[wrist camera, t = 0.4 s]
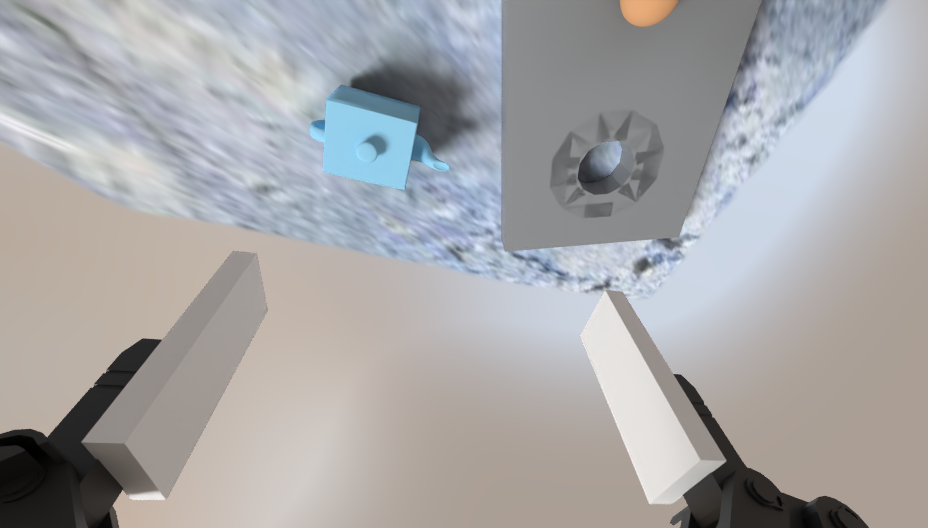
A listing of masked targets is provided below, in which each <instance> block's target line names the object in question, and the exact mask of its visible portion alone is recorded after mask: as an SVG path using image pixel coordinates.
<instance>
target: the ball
mask: <svg viewBox="0 0 928 528" xmlns="http://www.w3.org/2000/svg"><path fill="white" fill-rule="evenodd" d="M678 1H679V0H620V7H621V11H622V14H623V16H624V18H625V19H626V20H627V21H628V22H629V23H631V24H632V25H635V26H639V27H647V26H651V25H654V24H656V23H658V22H660V21H662V20H663V19H664V18H666V17H667V16H668V15H669V14H670V13H671V12H672V10H673V9H674V8H675V6H676V4H677V3H678Z"/></svg>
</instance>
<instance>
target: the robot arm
mask: <svg viewBox="0 0 928 528" xmlns="http://www.w3.org/2000/svg"><path fill="white" fill-rule="evenodd" d="M267 311H268V309H267V303H266V298H265V293H264V288H263V283H262V278H261V272H260V267H259V262H258V257H257V254H256V253H249V252H239V251H233V252H232V253H231V254H230V255H229V257H228V258H227V259H226V260H225V262H224V263H223V264H222V265H221V267H220V268H219V269H218V271H217V272H216V273H215V274H214V276H213V277H212V278H211V279H210V280H209V282H208V283H207V284H206V286H205V287H204V288H203V289H202V291H201V292H200V293H199V294H198V296H197V297H196V298H195V299H194V301H193V302H192V303H191V305H190V306H189V307H188V308H187V309H186V311H185V312H184V313H183V315H182V316H181V317H180V318H179V320H178V321H177V322H176V323H175V325H174V326H173V327H172V328H171V330H170V331H169V332H168V334H167V335H166V336H165V337H164V338H163V340H158V339H157V340H156V339H141V340H140V341H138V342H137V343H135V344H134V345H133V346H131V347H130V348H128V349H126V350H125V351H123V352H122V353H121V354H120V355H119V356H118V357H117V359H116V360H115V361H114V362H113V363H112V364H111V365H110V367H109V368H108V369H107V372H106V373H103V374H102V376H101V377H100V378H99V379H98V380H97V382H95V384H94V387H93V388H90V389H89V390H88V392H87V393H86V394H85V395H84V396H83V397H82V398H81V399H80V401H79V402H78V403H77V404H76V405H75V406H74V408H73V409H72V410H71V411H70V412H69V413H68V414H67V416H66V417H65V418H64V419H63V420H62V421H61V422H60V423H59V425H58V426H57V427H56V428H55V429H54V430H53V431H52V432H51V434H50V435H49V436H48V437H46V436H45V435H44V434H43V433H41V432H38V431H35V430H32V429H21V430H12V431H9V432H6V433H2V434H0V528H119V525H118V520H117V515H116V511H115V509H114V508H113V506H112V505H113V504H114V502H115V501H116V499H117V497H118V496H119V494H120V493H121V491H122V490H123V491H124V492H125V493H126V494H127V495H128V497H129V498H130V499H131V500H166V499H167V497H168V496H169V494H170V492H171V490H172V488H173V486H174V484H175V482H176V481H177V479H178V477H179V475H180V473H181V471H182V470H183V468H184V466H185V464H186V462H187V460H188V458H189V456H190V455H191V453H192V451H193V449H194V447H195V445H196V443H197V442H198V439H199V438H200V436H201V434H202V432H203V430H204V428H205V427H206V425H207V423H208V421H209V419H210V417H211V415H212V414H213V412H214V410H215V408H216V406H217V404H218V402H219V400H220V399H221V397H222V395H223V393H224V391H225V389H226V387H227V386H228V383H229V382H230V380H231V378H232V376H233V374H234V373H235V370H236V369H237V367H238V365H239V363H240V361H241V359H242V357H243V356H244V354H245V352H246V350H247V348H248V346H249V344H250V343H251V341H252V339H253V337H254V335H255V333H256V331H257V330H258V328H259V326H260V324H261V322H262V320H263V318H264V316H265V315H266V313H267ZM580 337H581V339H582V342H583V344H584V347H585V349H586V352H587V354H588V356H589V359H590V361H591V364H592V366H593V369H594V371H595V373H596V376H597V378H598V381H599V383H600V385H601V388H602V390H603V393H604V395H605V398H606V400H607V402H608V405H609V407H610V410H611V412H612V415H613V417H614V419H615V422H616V424H617V427H618V429H619V431H620V434H621V436H622V438H623V441H624V443H625V446H626V448H627V451H628V453H629V456H630V458H631V460H632V463H633V465H634V468H635V470H636V472H637V475H638V477H639V480H640V482H641V485H642V487H643V490H644V492H645V494H646V497H647V499H648V502H649V504H673V503H674V502H675V501H677V500H678V499H679V498H680V497H682V496H684V498H685V500H686V502H687V504H688V506H687V507H686V508H685V509H683V510H682V511H680V512H679V513H678V514H676V515H675V516H674V517H673V518H672V520H671V522H670V523H671V524H672V525H675V524H676V523H678V522H679V521H680V520H682V522H681V527H680V528H869V527H868V526H867V525H866V524H865V523H864V521H863V520H862V519H861V518H860V517H859V516H858V515H857V514H856V513H855V512H854V511H852V510H851V509H850V508H849V507H848V506H846V505H845V504H843V503H841V502H840V501H838V500H836V499H834V498H831V497H827V496H822V497H818V498H816V499H814V500H813V501H811V502H806V501H803V500H800V499H798V498H795V497H792V496H790V495H787V494H784V493H781V492H780V491H779V489H778V488H777V487H776V486H775V485H774V484H773V483H772V482H771V481H770V480H769V479H768V478H766V477H765V476H764V475H762V474H761V473H759V472H757V471H755V470H753V469H751V468H747V467H746V466H745V464H744V463H743V462H742V460H741V458H740V457H739V455H738V454H737V452H736V451H735V449H734V448H733V446H732V445H731V443H730V441H729V440H728V438H727V437H726V436H725V434H724V432H723V431H722V429H721V428H720V426H719V424H718V423H717V421H716V420H715V418H713V417H712V414H711V412H710V411H709V409H708V408H707V406H705V405H704V401H703V400H702V398H701V397H700V395H699V394H698V392H697V391H696V389H695V388H694V387H693V386H692V385H691V384H690V383H689V382H688V381H687V380H686V379H685V378H684V377H683V376H682V375H678V374H673V373H672V372H671V370H670V368H669V366H668V365H667V363H666V362H665V360H664V359H663V357H662V355H661V354H660V352H659V350H658V349H657V347H656V345H655V344H654V342H653V341H652V339H651V338H650V336H649V334H648V332H647V331H646V329H645V328H644V326H643V324H642V323H641V321H640V319H639V318H638V316H637V315H636V313H635V311H634V310H633V308H632V307H631V305H630V303H629V302H628V300H627V298H626V297H625V295H624V293H623V292H619V291H610V290H605V291H604V293H603V295H602V297H601V299H600V300H599V302H598V304H597V306H596V308H595V310H594V312H593V313H592V315H591V317H590V319H589V321H588V323H587V325H586V326H585V328H584V330H583V332H582V334H581V336H580Z"/></svg>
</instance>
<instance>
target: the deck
mask: <svg viewBox="0 0 928 528" xmlns="http://www.w3.org/2000/svg"><path fill="white" fill-rule="evenodd" d="M761 1H762V0H679V1H678V3H677V4H676V6H675V8H674V9H673V10H672V12H671V13H670V14H669V15H668V16H667V17H666V18H664V19H663V20H662V21H660V22H658V23H656V24H654V25H651V26H647V27H639V26H635V25H632V24H631V23H629V22H628V21H627V20H626V19H625V18H624V16H623V14H622V11H621V7H620V0H502V210H501V237H502V241H503V245H504V249H505V251H517V250H529V249H541V248H553V247H565V246H577V245H589V244H601V243H613V242H625V241H637V240H649V239H662V238H674V237H679V235H680V232H681V229H682V226H683V224H684V221H685V218H686V215H687V212H688V209H689V206H690V204H691V201H692V198H693V195H694V192H695V189H696V187H697V184H698V181H699V178H700V175H701V172H702V169H703V167H704V164H705V161H706V158H707V155H708V152H709V149H710V147H711V144H712V141H713V138H714V135H715V132H716V130H717V127H718V124H719V121H720V118H721V115H722V112H723V110H724V107H725V104H726V101H727V98H728V95H729V93H730V90H731V87H732V84H733V81H734V78H735V75H736V73H737V70H738V67H739V64H740V61H741V58H742V56H743V53H744V50H745V47H746V44H747V41H748V38H749V36H750V33H751V30H752V27H753V24H754V21H755V18H756V16H757V13H758V10H759V7H760V4H761ZM610 141H619V142H620V144H621V147H622V154H621V159H620V163H619V164H618V166H617V167H616V168H615V170H614V171H613V172H612V174H611V175H609V176H607V177H606V178H604V179H602V180H600V181H599V182H590V183H584V182H582V181H580V180H578V171H579V164H580V163H581V161H582V160H583V158H584V157H585V155H586V154H587V153H588V151H589V150H591V149H592V148H594V147H596V146H597V145H599V144H601V143H602V142H610Z"/></svg>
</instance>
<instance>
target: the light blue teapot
mask: <svg viewBox="0 0 928 528" xmlns="http://www.w3.org/2000/svg"><path fill="white" fill-rule="evenodd" d="M420 107H421V106H418V105H415V104H411V103H407V102H404V101H400V100H396V99H393V98H389V97H385V96H382V95H378V94H374V93H370V92H367V91H363V90H359V89H356V88H352V87H348V86H344V85H341V86H339V87H338V88H337V89H336V90H335V91H334V92H333V93H332V94H331V95H330V96H329V97H328V98H326V115H325V119H324V120H318V121H314V122H312V123H311V124H310V127H309V131H310V135H311V136H312V137H313V138H314V139H316V140H318V141H320V142H324V158H323V172H326V173H330V174H334V175H338V176H343V177H347V178H351V179H356V180H360V181H365V182H369V183H374V184H379V185H383V186H388V187H392V188H397V189H402V190H405V188H406V183H407V178H408V172H409V167H410V162H411V159H414V160H417V161H420V162H423V163H424V164H426V165H428V166H429V167H431V168H433V169H435V170H439V171H448V170H449V169H450V167H449V166H448V165H447V164H446V163H444V162H442V161H440V160H439V159H437V158H436V157H435V156H434V155H433V153H432V151H431V148H430V146H429V144H428V142H427V141H426V140H425V139H424V138H423V137H421V136H420V135H418V134H416V131H417V125H418V120H419V114H420Z"/></svg>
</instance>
